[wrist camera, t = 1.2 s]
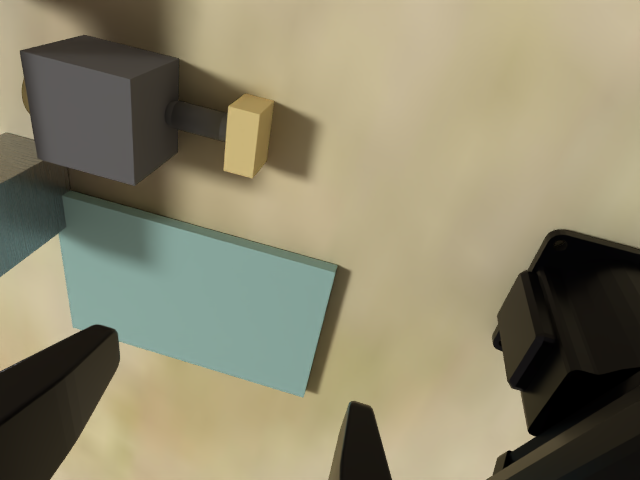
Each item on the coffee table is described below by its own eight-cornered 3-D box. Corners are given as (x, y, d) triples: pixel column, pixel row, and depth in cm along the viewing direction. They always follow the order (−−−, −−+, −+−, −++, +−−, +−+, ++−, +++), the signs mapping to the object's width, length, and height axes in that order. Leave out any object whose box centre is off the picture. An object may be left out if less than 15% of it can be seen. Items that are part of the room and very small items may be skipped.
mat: (337, 265, 22) (335, 272, 21) (305, 389, 27) (303, 397, 26) (60, 187, 23) (52, 193, 22) (79, 320, 28) (72, 327, 27)
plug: (276, 83, 18) (245, 109, 15) (264, 175, 20) (235, 213, 17) (66, 30, 19) (-2, 45, 16) (77, 124, 21) (18, 153, 18)
